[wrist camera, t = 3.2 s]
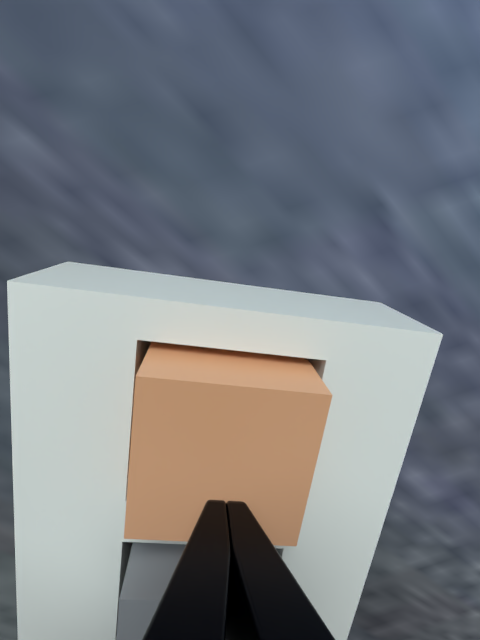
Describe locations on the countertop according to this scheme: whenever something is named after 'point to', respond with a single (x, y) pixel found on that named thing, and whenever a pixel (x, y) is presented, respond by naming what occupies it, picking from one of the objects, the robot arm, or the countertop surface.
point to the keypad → (117, 413)
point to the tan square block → (222, 439)
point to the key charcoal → (145, 586)
